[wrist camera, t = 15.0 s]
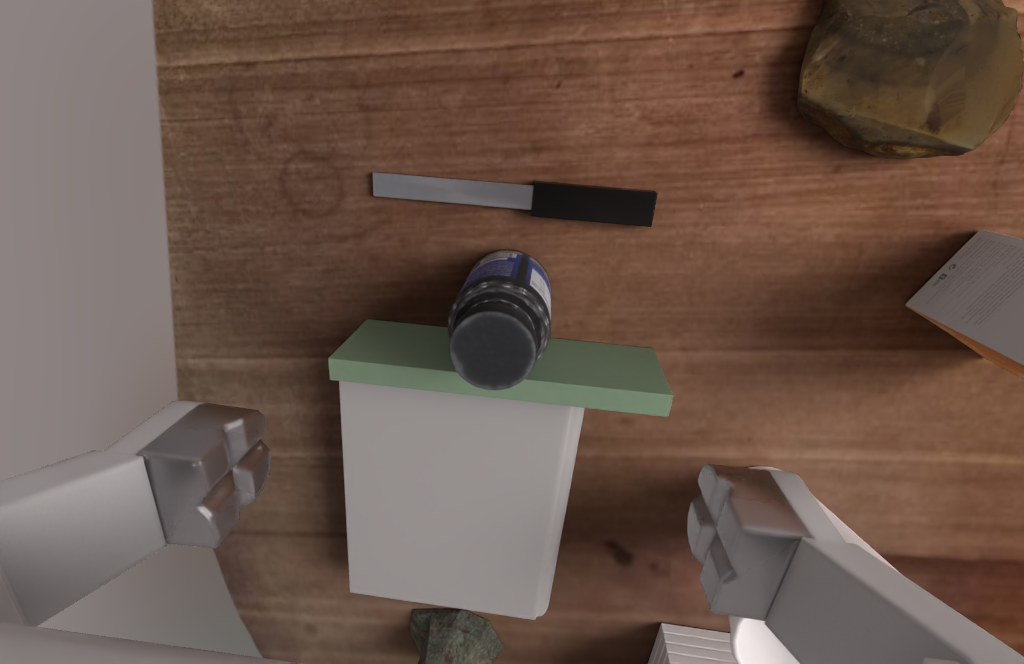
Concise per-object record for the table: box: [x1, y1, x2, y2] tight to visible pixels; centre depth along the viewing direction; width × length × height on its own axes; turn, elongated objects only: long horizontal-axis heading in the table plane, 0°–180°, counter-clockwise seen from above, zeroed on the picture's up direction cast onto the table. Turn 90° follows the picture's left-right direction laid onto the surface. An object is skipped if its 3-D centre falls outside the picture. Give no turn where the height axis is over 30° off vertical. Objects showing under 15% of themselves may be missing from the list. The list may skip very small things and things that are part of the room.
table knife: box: [373, 172, 657, 227], centre depth 32 cm, size 19×2×1 cm, turn 86°
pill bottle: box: [447, 249, 551, 390], centre depth 30 cm, size 6×6×11 cm
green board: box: [328, 319, 673, 417], centre depth 34 cm, size 22×2×7 cm, turn 86°
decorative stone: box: [797, 0, 1024, 159], centre depth 27 cm, size 10×9×4 cm
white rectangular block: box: [339, 381, 585, 619], centre depth 41 cm, size 18×4×24 cm
